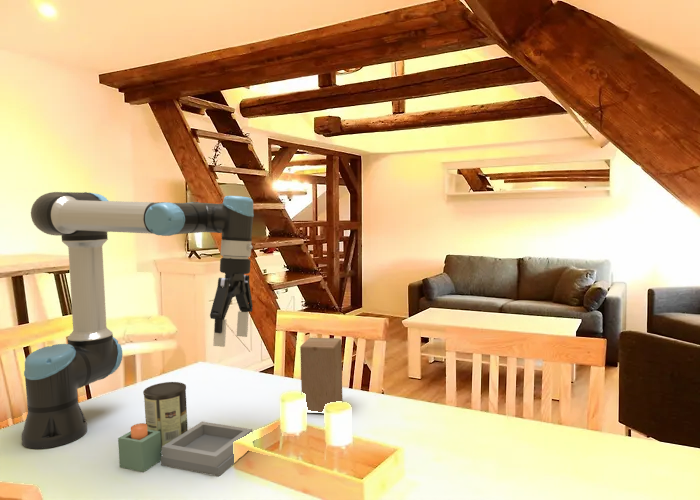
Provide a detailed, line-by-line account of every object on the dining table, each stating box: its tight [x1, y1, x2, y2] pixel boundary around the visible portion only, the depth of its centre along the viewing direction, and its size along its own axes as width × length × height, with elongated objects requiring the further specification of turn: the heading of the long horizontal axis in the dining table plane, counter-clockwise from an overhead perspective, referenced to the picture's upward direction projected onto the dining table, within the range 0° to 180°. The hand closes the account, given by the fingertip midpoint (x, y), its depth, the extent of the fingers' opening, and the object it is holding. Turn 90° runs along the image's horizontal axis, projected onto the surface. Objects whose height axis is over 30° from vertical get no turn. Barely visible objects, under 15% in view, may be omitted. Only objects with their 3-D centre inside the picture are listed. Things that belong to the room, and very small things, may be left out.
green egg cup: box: [117, 429, 162, 473], centre depth 122 cm, size 7×6×7 cm
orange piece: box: [130, 422, 148, 440], centre depth 122 cm, size 4×4×5 cm
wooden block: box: [299, 337, 343, 412], centre depth 153 cm, size 10×10×20 cm
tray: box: [160, 421, 253, 477], centre depth 125 cm, size 16×15×4 cm
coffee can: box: [143, 381, 189, 452], centre depth 133 cm, size 10×10×14 cm
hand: (231, 341), depth 132 cm, fingers open, 13 cm apart
